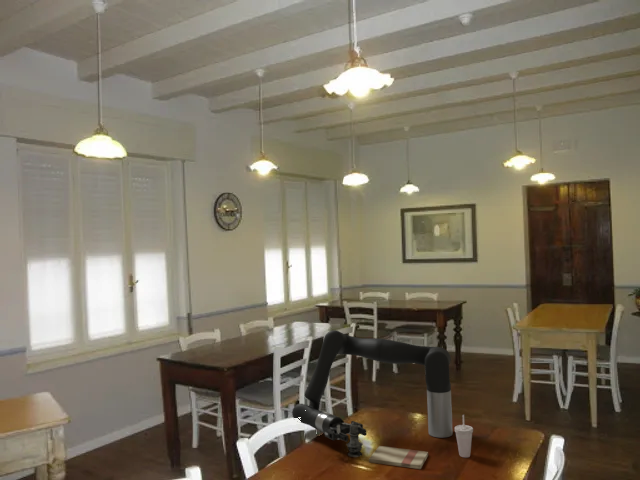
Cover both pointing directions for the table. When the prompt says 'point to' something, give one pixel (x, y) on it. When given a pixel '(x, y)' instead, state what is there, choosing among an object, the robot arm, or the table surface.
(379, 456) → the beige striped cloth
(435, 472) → the table surface
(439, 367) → the robot arm
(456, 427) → the smoothie
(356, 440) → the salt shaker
